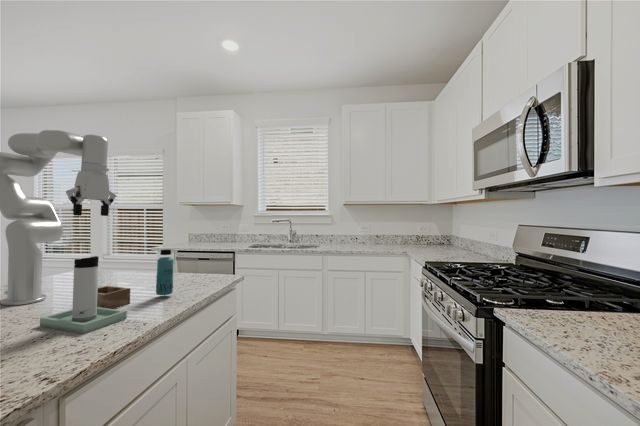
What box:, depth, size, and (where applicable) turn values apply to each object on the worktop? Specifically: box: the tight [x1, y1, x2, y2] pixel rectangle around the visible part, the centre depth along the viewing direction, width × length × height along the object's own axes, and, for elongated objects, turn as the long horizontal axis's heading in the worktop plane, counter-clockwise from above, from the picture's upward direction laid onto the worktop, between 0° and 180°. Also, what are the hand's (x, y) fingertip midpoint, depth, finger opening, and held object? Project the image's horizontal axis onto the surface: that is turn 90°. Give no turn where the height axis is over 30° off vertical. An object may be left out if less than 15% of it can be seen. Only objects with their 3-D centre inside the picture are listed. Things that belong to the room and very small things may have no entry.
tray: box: [39, 307, 128, 335], centre depth 98 cm, size 18×14×2 cm
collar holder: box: [97, 285, 131, 309], centre depth 115 cm, size 11×10×6 cm
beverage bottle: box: [155, 248, 175, 296], centre depth 130 cm, size 6×7×20 cm
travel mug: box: [71, 255, 100, 322], centre depth 98 cm, size 6×7×20 cm
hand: (91, 215), depth 113 cm, fingers open, 9 cm apart
